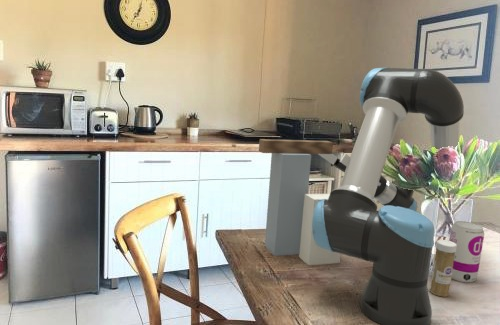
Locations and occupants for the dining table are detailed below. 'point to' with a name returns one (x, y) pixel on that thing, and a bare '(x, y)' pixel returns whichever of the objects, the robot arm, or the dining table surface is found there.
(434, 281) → the sprinkles bottle
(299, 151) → the walnut bar
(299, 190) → the step stand
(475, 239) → the supplement can
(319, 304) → the dining table surface
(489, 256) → the dining table surface
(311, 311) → the dining table surface
